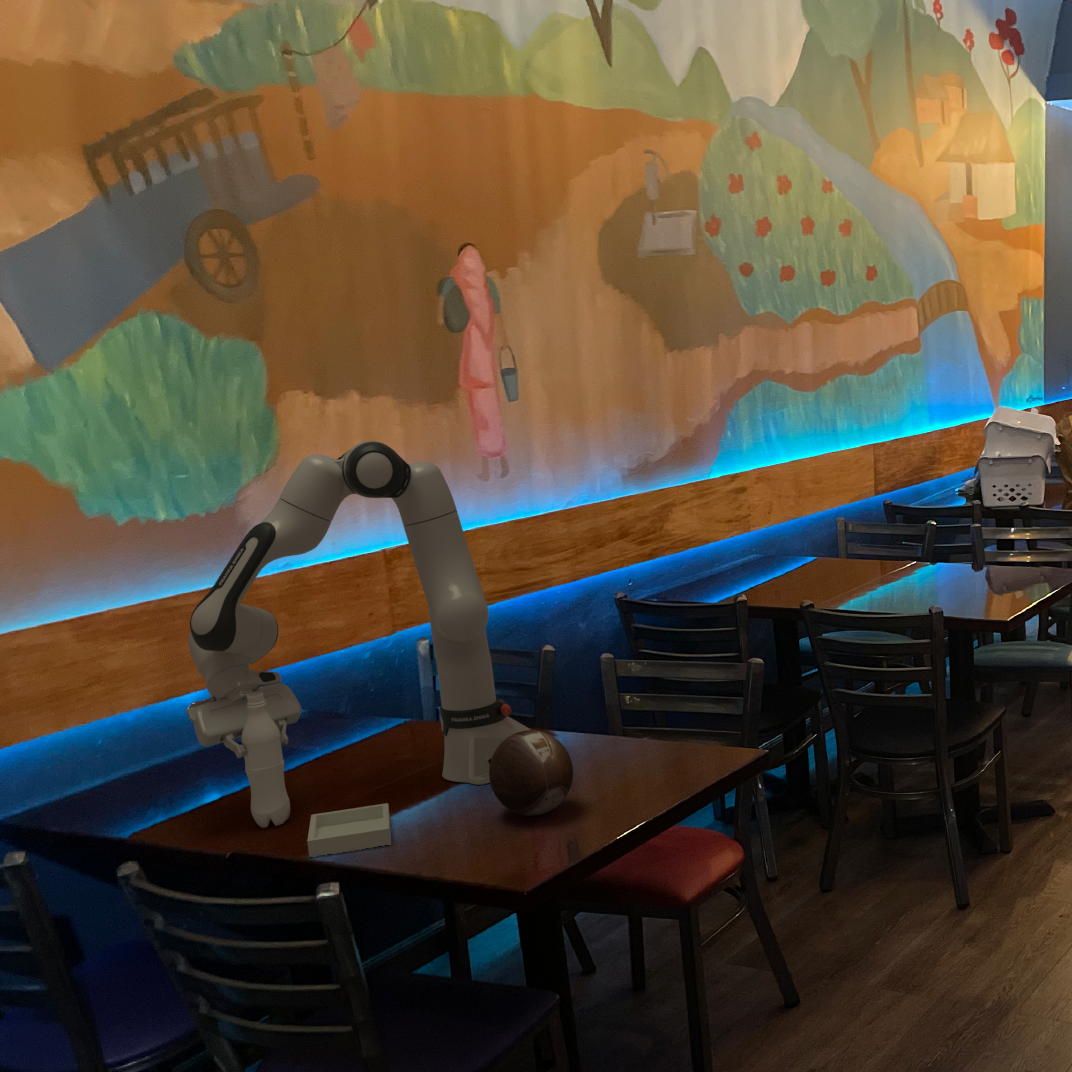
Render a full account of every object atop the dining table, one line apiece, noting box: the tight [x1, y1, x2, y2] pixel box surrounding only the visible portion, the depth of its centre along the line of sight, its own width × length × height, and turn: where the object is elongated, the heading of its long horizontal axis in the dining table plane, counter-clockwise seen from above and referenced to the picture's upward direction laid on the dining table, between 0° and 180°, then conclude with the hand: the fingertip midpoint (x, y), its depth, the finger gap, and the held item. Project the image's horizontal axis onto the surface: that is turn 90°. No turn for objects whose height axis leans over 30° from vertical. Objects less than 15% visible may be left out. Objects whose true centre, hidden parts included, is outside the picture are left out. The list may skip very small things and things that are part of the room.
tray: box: [306, 802, 392, 858], centre depth 214 cm, size 14×14×3 cm
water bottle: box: [240, 692, 291, 829], centre depth 226 cm, size 7×7×25 cm
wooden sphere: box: [489, 729, 574, 817], centre depth 216 cm, size 15×15×15 cm
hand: (263, 749), depth 225 cm, fingers closed on water bottle, 7 cm apart
